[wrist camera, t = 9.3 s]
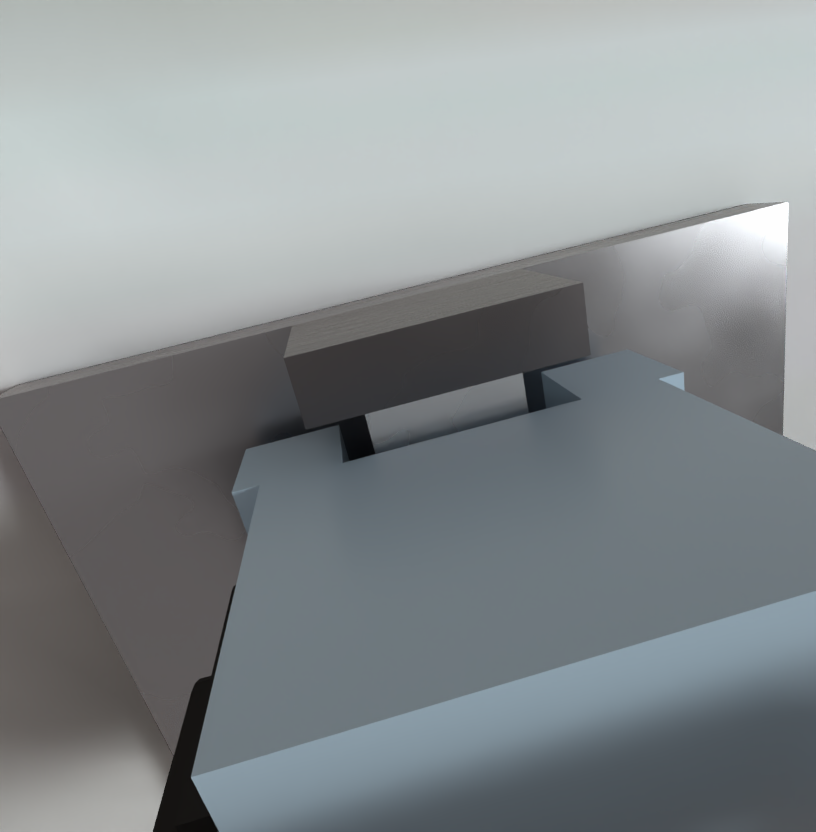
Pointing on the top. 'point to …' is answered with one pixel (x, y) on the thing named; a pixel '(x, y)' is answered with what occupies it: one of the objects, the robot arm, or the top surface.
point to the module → (525, 624)
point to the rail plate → (367, 406)
